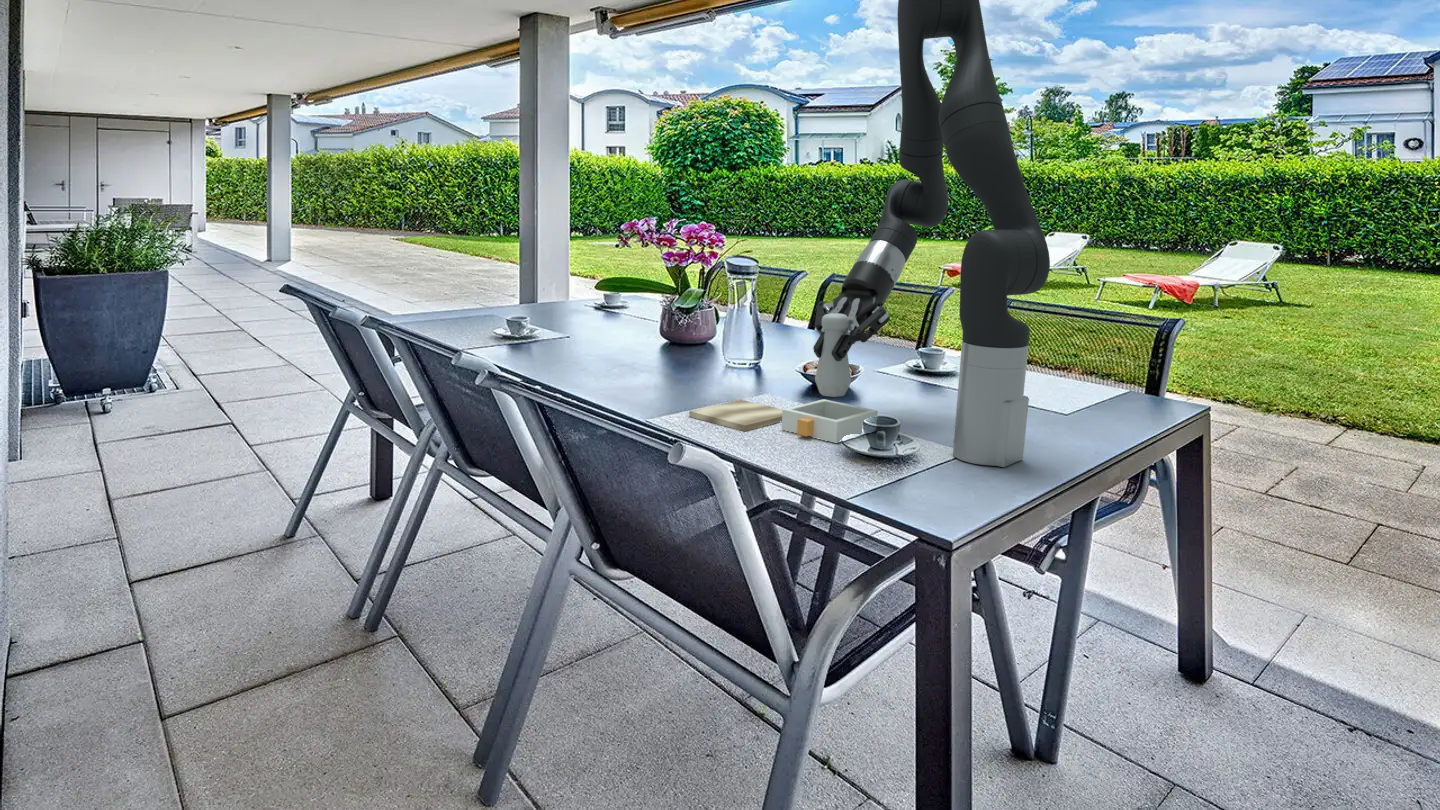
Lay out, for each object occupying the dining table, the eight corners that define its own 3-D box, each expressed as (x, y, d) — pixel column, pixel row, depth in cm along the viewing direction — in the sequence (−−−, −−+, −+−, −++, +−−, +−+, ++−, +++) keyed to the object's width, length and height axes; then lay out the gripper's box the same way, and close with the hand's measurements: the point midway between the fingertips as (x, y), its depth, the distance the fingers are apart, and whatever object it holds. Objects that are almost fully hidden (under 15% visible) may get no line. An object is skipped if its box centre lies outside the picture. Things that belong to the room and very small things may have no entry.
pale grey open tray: (876, 431, 146) (877, 410, 145) (829, 445, 137) (830, 423, 136) (822, 419, 153) (823, 399, 152) (775, 431, 144) (775, 410, 143)
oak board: (796, 418, 153) (796, 412, 153) (745, 431, 144) (745, 425, 144) (740, 404, 162) (740, 399, 162) (689, 416, 153) (689, 411, 153)
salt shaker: (820, 398, 141) (822, 316, 138) (810, 391, 146) (812, 312, 143) (855, 397, 142) (858, 315, 139) (844, 389, 147) (846, 311, 145)
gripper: (830, 257, 149) (782, 337, 143) (902, 261, 140) (853, 346, 134) (848, 287, 154) (802, 365, 148) (919, 293, 145) (872, 376, 139)
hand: (826, 356), depth 141 cm, fingers closed on salt shaker, 3 cm apart
